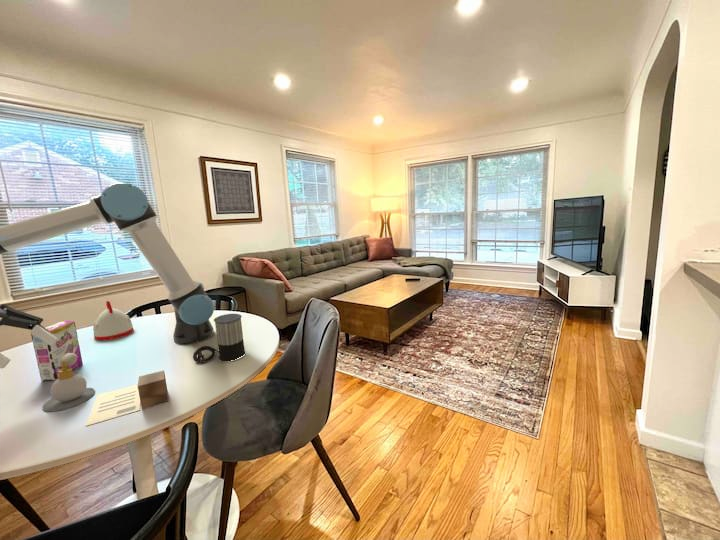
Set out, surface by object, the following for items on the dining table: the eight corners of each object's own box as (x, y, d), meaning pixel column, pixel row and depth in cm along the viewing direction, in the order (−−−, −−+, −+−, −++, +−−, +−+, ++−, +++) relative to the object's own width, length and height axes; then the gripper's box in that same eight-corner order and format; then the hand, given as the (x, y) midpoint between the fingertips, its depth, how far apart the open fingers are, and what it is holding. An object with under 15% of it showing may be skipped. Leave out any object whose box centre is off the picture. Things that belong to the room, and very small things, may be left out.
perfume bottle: (56, 410, 84) (46, 368, 81) (49, 397, 90) (40, 359, 87) (91, 396, 89) (83, 357, 87) (83, 385, 95) (75, 349, 93)
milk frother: (250, 355, 113) (246, 316, 110) (205, 372, 102) (199, 330, 99) (233, 345, 123) (228, 309, 120) (190, 359, 111) (184, 320, 109)
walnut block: (167, 392, 91) (164, 370, 90) (168, 402, 86) (164, 379, 85) (143, 399, 88) (139, 376, 87) (142, 410, 83) (137, 386, 82)
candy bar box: (57, 380, 100) (46, 332, 97) (40, 381, 100) (28, 333, 97) (84, 363, 111) (75, 320, 108) (69, 365, 111) (59, 321, 108)
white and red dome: (130, 326, 149) (124, 295, 146) (136, 333, 139) (130, 300, 136) (92, 335, 139) (85, 302, 136) (96, 343, 129) (89, 308, 126)
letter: (143, 383, 96) (143, 383, 96) (139, 410, 83) (139, 409, 83) (97, 395, 91) (97, 394, 91) (85, 426, 77) (85, 425, 77)
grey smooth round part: (98, 384, 96) (97, 383, 96) (90, 402, 87) (90, 401, 87) (49, 396, 91) (49, 395, 91) (36, 417, 82) (36, 415, 82)
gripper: (-1, 299, 94) (63, 343, 98) (-119, 331, 70) (-28, 387, 73) (14, 281, 93) (77, 326, 97) (-101, 307, 69) (-10, 364, 73)
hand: (32, 352), depth 85 cm, fingers open, 13 cm apart
